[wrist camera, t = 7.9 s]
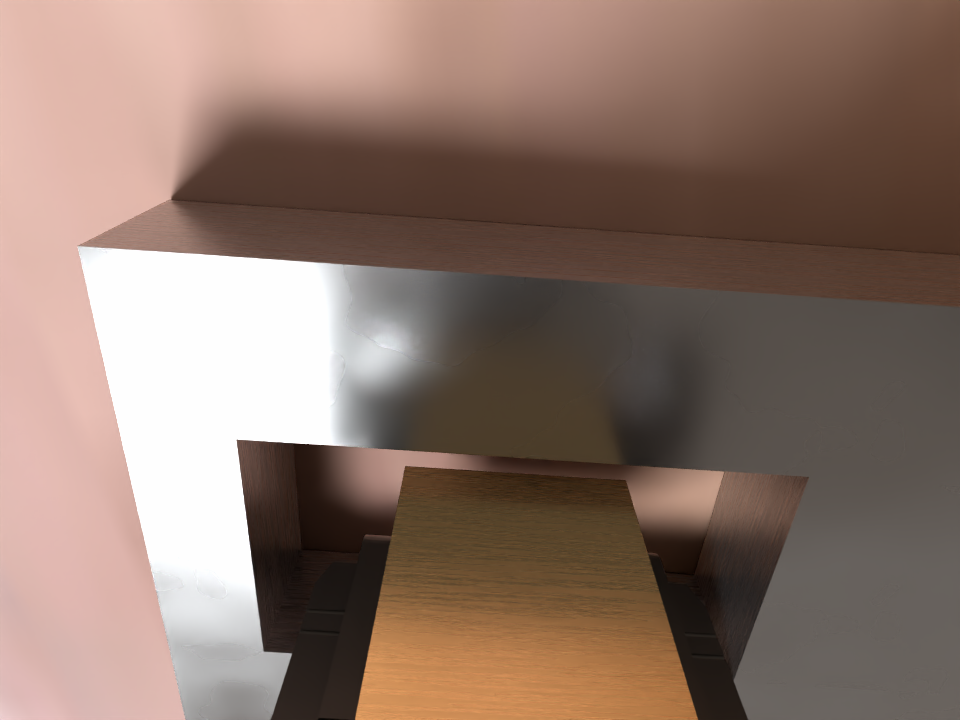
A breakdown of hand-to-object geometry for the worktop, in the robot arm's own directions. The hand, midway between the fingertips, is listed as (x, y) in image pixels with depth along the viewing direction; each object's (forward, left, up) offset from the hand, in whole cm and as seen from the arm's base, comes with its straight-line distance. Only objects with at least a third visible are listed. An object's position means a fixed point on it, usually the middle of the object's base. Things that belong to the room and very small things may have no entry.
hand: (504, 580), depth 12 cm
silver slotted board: (-6, 0, -3) cm, 7 cm away
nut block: (0, 0, -1) cm, 1 cm away
